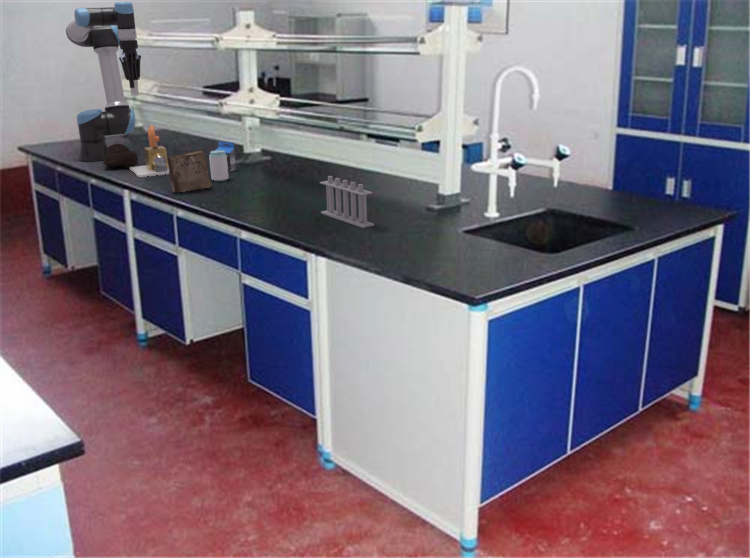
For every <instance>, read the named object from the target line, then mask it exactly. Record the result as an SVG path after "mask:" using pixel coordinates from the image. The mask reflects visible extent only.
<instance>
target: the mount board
mask: <svg viewBox="0 0 750 558" xmlns="http://www.w3.org/2000/svg"><path fill="white" fill-rule="evenodd" d="M129 170H130V171H131V172H132V171H133V172H134V173H135V174H136V177H137V178H139V177H140V178H147V176H149V177H156V175H158V176H166V175H170V174H169V169H167V170H168V171H161V172H155V170H151V171H150V170H149V169H148V168H147V167H146V164H144V165H139V166H138V165H135V166H129ZM133 172H132V173H133ZM134 173H133V174H134ZM135 174H134V175H135ZM165 174H166V175H165Z"/></svg>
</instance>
